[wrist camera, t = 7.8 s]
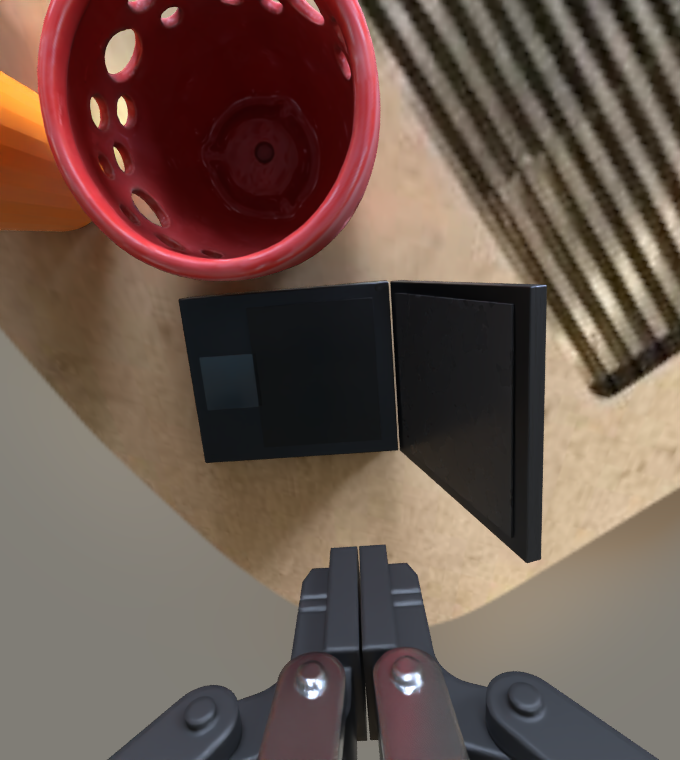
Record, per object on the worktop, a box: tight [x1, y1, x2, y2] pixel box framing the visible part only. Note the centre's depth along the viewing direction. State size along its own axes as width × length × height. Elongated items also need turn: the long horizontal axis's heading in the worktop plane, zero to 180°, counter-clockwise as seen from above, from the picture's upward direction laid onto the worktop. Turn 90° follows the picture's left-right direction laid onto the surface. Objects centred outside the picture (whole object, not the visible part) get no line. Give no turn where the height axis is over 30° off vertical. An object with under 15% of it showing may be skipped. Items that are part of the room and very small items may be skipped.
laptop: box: [179, 280, 398, 463], centre depth 31 cm, size 13×11×2 cm
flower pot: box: [37, 0, 380, 281], centre depth 23 cm, size 13×13×12 cm
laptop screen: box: [390, 280, 547, 563], centre depth 24 cm, size 13×11×1 cm
